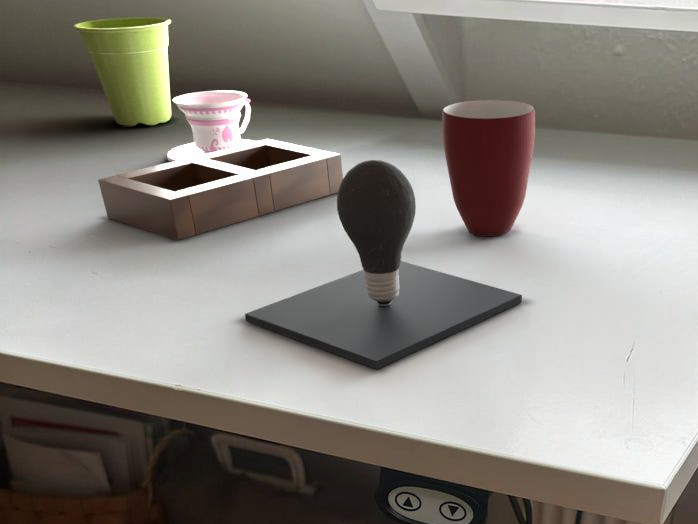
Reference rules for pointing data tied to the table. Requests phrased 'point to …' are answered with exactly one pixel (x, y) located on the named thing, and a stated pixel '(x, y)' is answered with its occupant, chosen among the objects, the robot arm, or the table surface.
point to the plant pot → (131, 66)
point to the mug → (488, 161)
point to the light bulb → (377, 222)
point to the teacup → (212, 122)
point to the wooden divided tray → (220, 187)
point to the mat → (383, 314)
